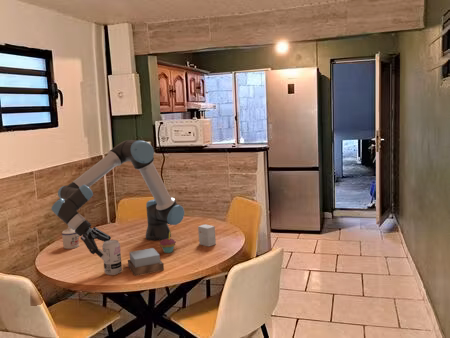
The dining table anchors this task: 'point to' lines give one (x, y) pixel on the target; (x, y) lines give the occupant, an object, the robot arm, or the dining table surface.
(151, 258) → the tower top slab
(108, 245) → the supplement can
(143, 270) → the tower base slab
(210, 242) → the small box
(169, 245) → the cupcake
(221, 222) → the dining table surface
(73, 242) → the teacup with lid
